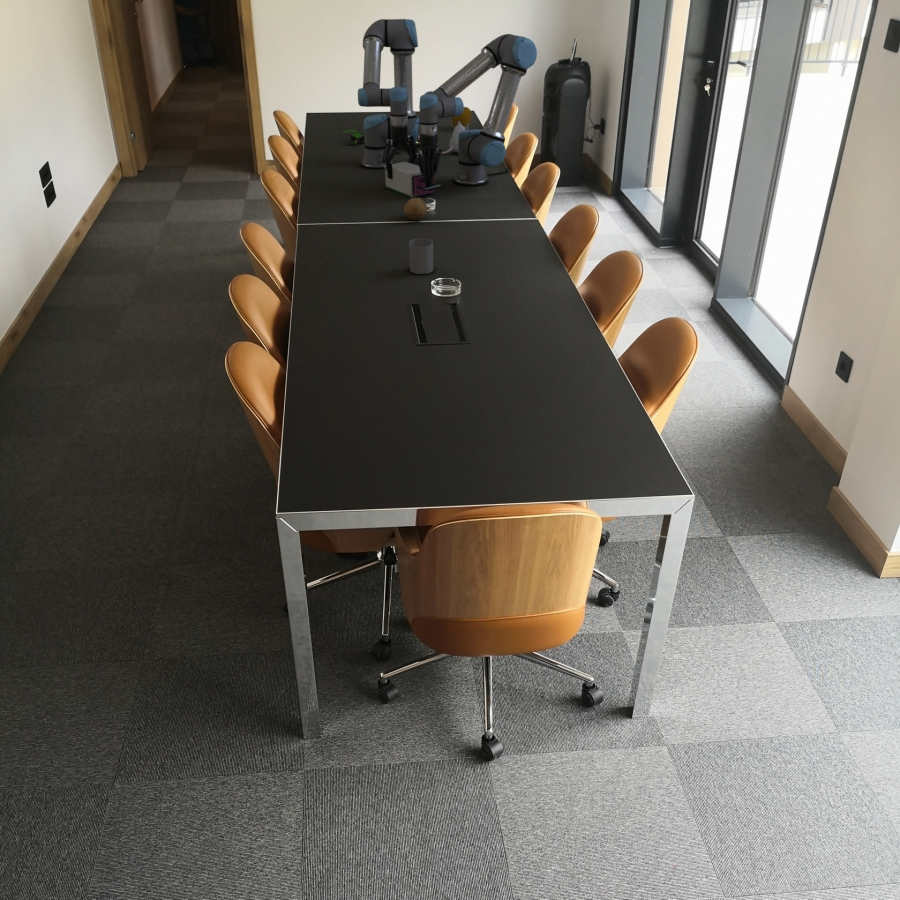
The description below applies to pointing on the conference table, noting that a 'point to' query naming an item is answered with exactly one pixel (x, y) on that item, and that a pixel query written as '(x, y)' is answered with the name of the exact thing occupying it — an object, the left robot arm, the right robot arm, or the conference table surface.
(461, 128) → the toy
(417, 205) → the potato
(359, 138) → the green irregular shape
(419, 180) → the drawer
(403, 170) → the cabinet
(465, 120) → the apple
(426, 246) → the cup
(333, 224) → the conference table surface
